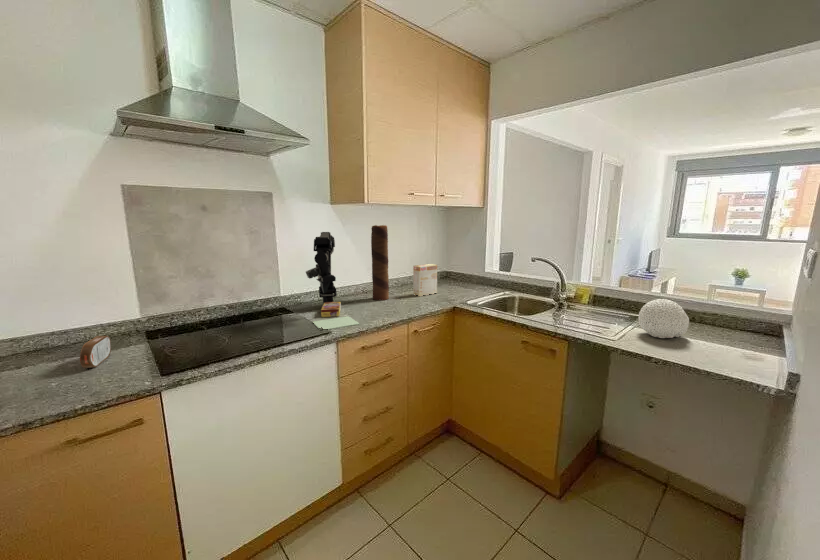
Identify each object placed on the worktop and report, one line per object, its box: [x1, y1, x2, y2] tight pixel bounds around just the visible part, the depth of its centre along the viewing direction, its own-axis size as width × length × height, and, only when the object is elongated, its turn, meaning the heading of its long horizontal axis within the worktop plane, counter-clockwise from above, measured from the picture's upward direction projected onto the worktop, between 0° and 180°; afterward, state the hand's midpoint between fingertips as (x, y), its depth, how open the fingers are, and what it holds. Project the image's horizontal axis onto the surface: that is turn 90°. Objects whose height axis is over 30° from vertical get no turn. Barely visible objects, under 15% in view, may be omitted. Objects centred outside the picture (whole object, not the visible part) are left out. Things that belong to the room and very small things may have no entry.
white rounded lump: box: [637, 298, 690, 339], centre depth 137 cm, size 20×18×16 cm
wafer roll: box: [370, 224, 390, 301], centre depth 198 cm, size 10×11×45 cm
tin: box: [79, 335, 112, 369], centre depth 109 cm, size 15×3×8 cm, turn 22°
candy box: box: [320, 301, 342, 318], centre depth 170 cm, size 9×4×15 cm
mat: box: [312, 315, 360, 331], centre depth 153 cm, size 14×18×1 cm
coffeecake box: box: [412, 263, 438, 297], centre depth 213 cm, size 15×7×20 cm, turn 124°
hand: (324, 293), depth 164 cm, fingers closed
